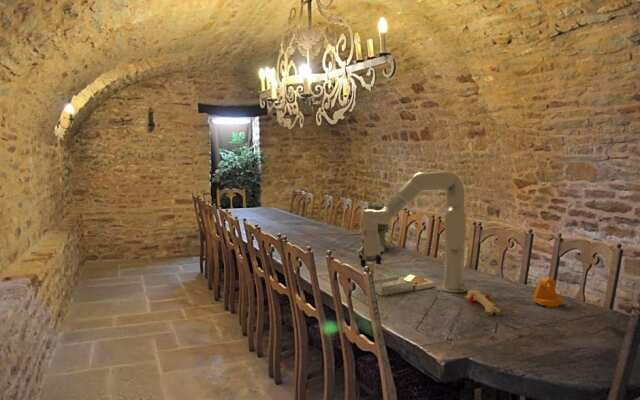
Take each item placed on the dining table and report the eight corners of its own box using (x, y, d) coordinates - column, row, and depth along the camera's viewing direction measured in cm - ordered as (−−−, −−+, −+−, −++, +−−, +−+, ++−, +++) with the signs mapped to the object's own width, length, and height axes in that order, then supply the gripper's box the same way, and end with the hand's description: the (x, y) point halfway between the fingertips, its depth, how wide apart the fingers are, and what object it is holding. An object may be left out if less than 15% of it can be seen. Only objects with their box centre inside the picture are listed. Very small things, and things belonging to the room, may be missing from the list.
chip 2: (417, 279, 260) (417, 285, 261) (424, 278, 262) (424, 283, 263) (411, 277, 264) (411, 283, 264) (418, 276, 266) (418, 281, 267)
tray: (434, 286, 259) (434, 281, 259) (415, 290, 253) (415, 285, 253) (415, 279, 272) (415, 275, 272) (396, 283, 266) (396, 278, 265)
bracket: (541, 307, 227) (543, 281, 226) (532, 302, 234) (533, 276, 233) (563, 306, 228) (565, 280, 227) (554, 301, 236) (555, 276, 234)
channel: (413, 289, 254) (413, 281, 253) (381, 296, 243) (381, 286, 243) (396, 283, 265) (396, 275, 264) (365, 289, 255) (365, 280, 254)
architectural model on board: (378, 258, 326) (379, 243, 325) (381, 259, 324) (381, 244, 322) (363, 259, 322) (363, 244, 320) (365, 260, 319) (366, 245, 318)
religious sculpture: (363, 244, 368) (363, 203, 364) (377, 243, 371) (378, 203, 367) (375, 251, 345) (375, 207, 342) (390, 250, 348) (391, 206, 345)
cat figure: (505, 318, 217) (480, 296, 241) (506, 298, 215) (481, 278, 239) (483, 319, 216) (460, 297, 240) (484, 299, 214) (461, 279, 238)
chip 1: (417, 280, 260) (415, 276, 259) (411, 286, 259) (409, 281, 258) (411, 278, 264) (409, 274, 263) (405, 284, 262) (403, 279, 261)
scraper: (376, 285, 263) (376, 264, 261) (372, 286, 261) (372, 265, 260) (367, 281, 269) (367, 261, 268) (362, 282, 268) (362, 262, 267)
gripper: (360, 235, 255) (361, 269, 256) (388, 232, 263) (388, 264, 265) (352, 233, 261) (353, 266, 263) (379, 230, 270) (379, 261, 271)
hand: (370, 265), depth 264 cm, fingers open, 9 cm apart
